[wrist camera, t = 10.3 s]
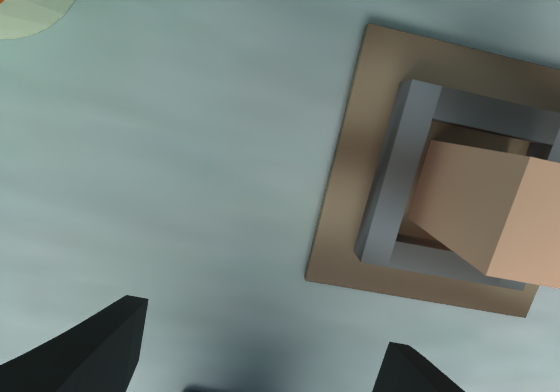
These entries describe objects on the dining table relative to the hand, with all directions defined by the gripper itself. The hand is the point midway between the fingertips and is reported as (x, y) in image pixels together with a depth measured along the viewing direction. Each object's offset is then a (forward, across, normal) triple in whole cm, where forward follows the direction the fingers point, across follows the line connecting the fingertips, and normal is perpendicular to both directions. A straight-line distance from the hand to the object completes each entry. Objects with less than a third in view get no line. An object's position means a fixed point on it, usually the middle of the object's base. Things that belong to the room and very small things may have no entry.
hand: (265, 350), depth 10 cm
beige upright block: (+9, -10, -5) cm, 14 cm away
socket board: (+10, -10, -5) cm, 15 cm away
